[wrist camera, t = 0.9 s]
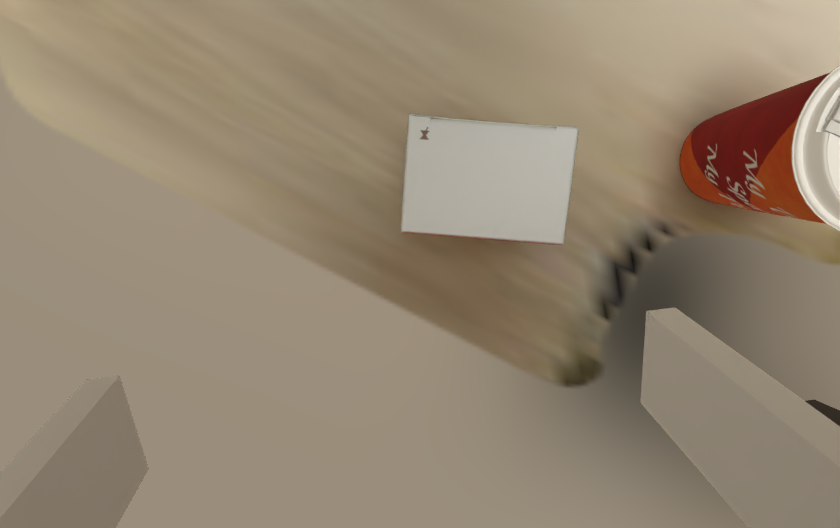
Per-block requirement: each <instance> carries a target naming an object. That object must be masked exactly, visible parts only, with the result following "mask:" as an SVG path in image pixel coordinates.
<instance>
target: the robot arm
mask: <svg viewBox="0 0 840 528" xmlns="http://www.w3.org/2000/svg"><path fill="white" fill-rule="evenodd" d="M641 404H642V405H643V406H644V407H645V408H646V410H647V411H648V412H649V413H650V414H651V415H652V417H653V418H654V419H655V420H656V421H657V422H658V423H659V425H660V426H661V427H662V428H663V429H664V430H665V432H666V433H667V434H668V435H669V436H670V437H671V439H672V440H674V442H675V443H676V444H677V445H678V447H679V448H680V449H681V450H682V451H683V452H684V454H685V455H686V456H687V457H688V458H689V459H690V461H691V462H693V464H694V465H695V466H696V467H697V468H698V470H699V471H700V472H701V473H702V474H703V475H704V477H705V478H706V479H707V480H708V481H709V482H710V484H711V485H712V486H713V487H714V488H715V489H716V490H717V492H718V493H719V494H720V495H721V496H722V498H723V499H724V500H725V501H726V502H727V503H728V504H729V506H730V507H731V508H732V509H733V510H734V511H735V512H736V514H737V515H738V516H739V517H740V518H741V519H742V521H743V522H744V523H745V524H746V525H747V526H748V527H749V528H840V411H839V410H837V409H835V408H832V407H830V406H828V405H825V404H823V403H821V402H818V401H816V400H809V401H804V400H802V399H801V398H800V397H798V396H797V395H795V394H794V393H793V392H791V391H790V390H789V389H787V388H786V387H784V386H783V385H781V384H780V383H779V382H778V381H776V380H775V379H773V378H772V377H771V376H769V375H768V374H766V373H765V372H764V371H762V370H761V369H759V368H758V367H757V366H755V365H754V364H752V363H751V362H750V361H748V360H747V359H746V358H744V357H743V356H741V355H740V354H739V353H737V352H736V351H735V350H733V349H732V348H730V347H729V346H727V345H726V344H725V343H724V342H722V341H721V340H719V339H718V338H717V337H715V336H714V335H712V334H711V333H710V332H708V331H707V330H705V329H704V328H703V327H701V326H700V325H699V324H697V323H696V322H694V321H693V320H692V319H690V318H689V317H687V316H686V315H685V314H683V313H682V312H681V311H679V310H678V309H676V308H668V309H659V310H651V311H646V325H645V342H644V357H643V373H642V387H641ZM148 469H149V468H148V464H147V461H146V458H145V455H144V452H143V449H142V445H141V442H140V439H139V436H138V433H137V429H136V427H135V423H134V420H133V417H132V414H131V411H130V407H129V404H128V401H127V398H126V394H125V391H124V388H123V385H122V382H121V378H120V376H112V377H103V378H95V379H87V380H86V381H85V382H84V383H83V384H82V385H81V386H80V387H79V388H78V389H77V390H76V391H75V392H74V393H73V395H72V396H71V397H70V398H69V399H68V400H67V401H66V402H65V403H64V404H63V405H62V406H61V407H60V408H59V410H58V411H57V412H56V413H55V414H54V415H53V416H52V417H51V418H50V419H49V420H48V421H47V422H46V423H45V424H44V426H43V427H42V428H41V429H40V430H39V431H38V432H37V433H36V434H35V435H34V436H33V437H32V438H31V439H30V441H28V443H27V444H26V445H25V446H24V447H23V448H22V449H21V450H20V451H19V452H18V453H17V454H16V456H14V457H13V459H12V460H11V461H10V462H9V463H8V464H7V465H6V466H5V467H4V468H3V469H2V470H1V471H0V528H116V526H117V525H118V523H119V521H120V519H121V518H122V515H123V514H124V512H125V510H126V509H127V507H128V505H129V503H130V501H131V500H132V497H133V496H134V494H135V492H136V491H137V489H138V487H139V485H140V483H141V482H142V480H143V478H144V476H145V474H146V473H147V471H148Z"/></svg>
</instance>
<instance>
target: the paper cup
mask: <svg viewBox="0 0 840 528" xmlns="http://www.w3.org/2000/svg"><path fill="white" fill-rule="evenodd" d="M680 169H681V174H682V177H683V179H684V181H685V183H686V185H687V186H688V187H689V189H690V190H691V191H692V192H693V193H695V194H696V195H698V196H699V197H701V198H703V199H705V200H708V201H711V202H715V203H719V204H723V205H728V206H733V207H738V208H743V209H748V210H754V211H759V212H765V213H770V214H775V215H781V216H787V217H792V218H798V219H803V220H809V221H814V222H820V223H825V224H828V225H830V226H831V227H833V228H835V229H836V230H838V231H840V66H838V67H837V68H836V69H834V70H833V71H832V72H831V73H828V74H825V75H823V76H820V77H817V78H814V79H812V80H809V81H806V82H804V83H801V84H798V85H795V86H793V87H790V88H787V89H784V90H782V91H779V92H776V93H774V94H771V95H768V96H765V97H763V98H760V99H757V100H755V101H752V102H749V103H747V104H744V105H741V106H739V107H736V108H733V109H731V110H728V111H726V112H723V113H721V114H718V115H716V116H714V117H712V118H709V119H707V120H706V121H704V122H702V123H701V124H700V125H698V126H697V127H696V128H695V129H694V130H693V131H692V132H691V133H690V134H689V136H688V137H687V139H686V141H685V143H684V145H683V147H682V151H681V155H680Z"/></svg>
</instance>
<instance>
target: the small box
mask: <svg viewBox="0 0 840 528" xmlns="http://www.w3.org/2000/svg"><path fill="white" fill-rule="evenodd" d="M578 132H579V129H578V127H576V126H547V125H530V124H517V123H503V122H490V121H477V120H465V119H452V118H443V117H435V116H426V115H418V114H409V116H408V126H407V139H406V153H405V167H404V182H403V197H402V214H401V232H402V233H413V234H426V235H438V236H450V237H463V238H476V239H489V240H502V241H515V242H528V243H540V244H553V245H563V244H564V238H565V231H566V224H567V216H568V209H569V201H570V194H571V186H572V178H573V171H574V163H575V155H576V147H577V140H578Z"/></svg>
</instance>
